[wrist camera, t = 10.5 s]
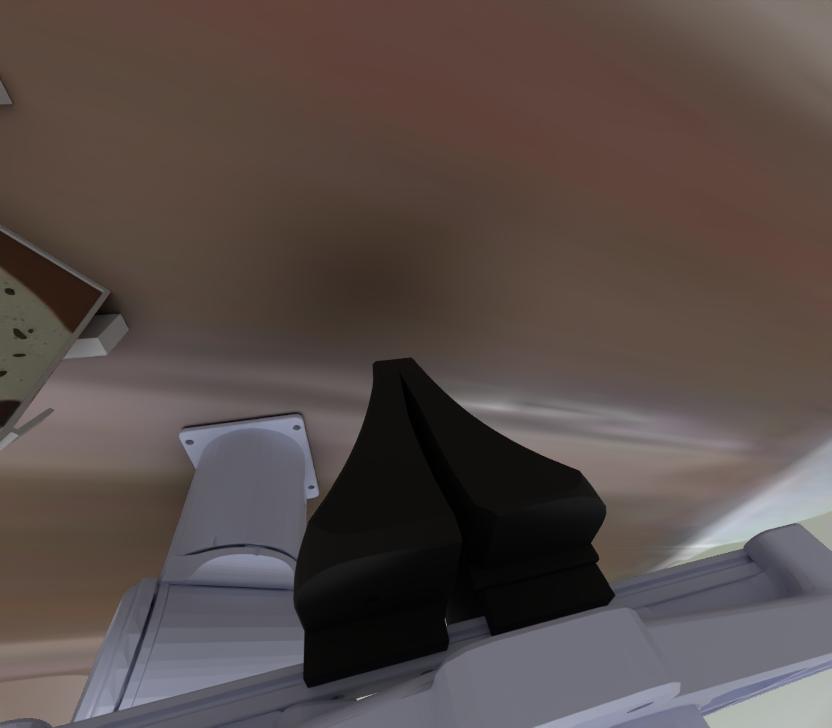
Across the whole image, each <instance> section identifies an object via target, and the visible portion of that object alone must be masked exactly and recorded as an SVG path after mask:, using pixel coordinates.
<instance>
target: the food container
mask: <svg viewBox="0 0 832 728" xmlns="http://www.w3.org/2000/svg"><path fill="white" fill-rule="evenodd" d="M110 293H111V291H109V290H107V289H106V288H104V287H103V286H101V285H99V284H98V283H96V282H94V281H93V280H91V279H89V278H88V277H86V276H85V275H83V274H81V273H80V272H78V271H76V270H75V269H73V268H72V267H70V266H68V265H67V264H65V263H63V262H62V261H60V260H58V259H57V258H55V257H54V256H52V255H50V254H49V253H47V252H45V251H44V250H42V249H40V248H39V247H37V246H36V245H34V244H32V243H31V242H29V241H27V240H26V239H24V238H22V237H21V236H19V235H18V234H16V233H14V232H13V231H11V230H9V229H8V228H6V227H5V226H3V225H1V224H0V450H2V449H4V448H5V447H6V446H8V445H9V444H11V443H12V442H14V441H15V440H16V439H18V438H19V437H21V436H22V435H23V434H25V433H26V432H28V431H29V430H31V429H32V428H33V427H35V426H36V425H38V424H39V423H40V422H41V421H43V420H44V419H45V418H46V417H47V416H48V415H50V414H51V413H52V412H53V411H54V410H53V409H51V408H49V409H47V410H46V411H44V412H43V413H41V414H40V415H38V416H37V417H35V418H34V419H32V420H31V421H29V422H28V423H26V424H25V425H23V426H22V427H20V428H19V429H15V428H13V427H14V426H15V424H16V423H17V421H18V420H19V419H20V417H21V416H22V414H23V413H24V412H25V410H26V409H27V408H28V406H29V405H30V403H31V402H32V401H33V399H34V398H35V397H36V395H37V394H38V392H39V391H40V390H41V388H42V387H43V385H44V384H45V383H46V381H47V380H48V379H49V377H50V376H51V374H52V373H53V372H54V370H55V369H56V367H57V366H58V365H59V363H60V362H61V361H62V359H63V358H64V356H65V355H66V354H67V352H68V351H69V350H70V348H71V347H72V345H73V344H74V343H75V341H76V340H77V338H78V337H79V336H80V334H81V333H82V332H83V330H84V329H85V327H86V326H87V325H88V323H89V322H90V320H91V319H92V318H93V316H94V315H95V314H96V312H97V311H98V309H99V308H100V307H101V305H102V304H103V302H104V301H105V300H106V298H107V297H108V296H109V294H110Z"/></svg>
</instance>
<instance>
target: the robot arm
mask: <svg viewBox="0 0 832 728" xmlns="http://www.w3.org/2000/svg"><path fill="white" fill-rule="evenodd" d="M295 425H299V426H295ZM179 439H180V441H181V443H182V444H183V446H184V448H185V450H186V452H187V454H188V456H189V458H190V460H191V462H192V463H193V465H194V467H195V469H196V472H195V475H194V478H193V480H192V483H191V486H190V489H189V492H188V495H187V498H186V501H185V504H184V507H183V510H182V513H181V516H180V519H179V522H178V525H177V528H176V531H175V534H174V537H173V540H172V543H171V546H170V549H169V552H168V555H167V558H166V561H165V563H164V566H163V569H162V571H161V573H160V575H159V577H158V579H155V578H149V577H145V578H143V579H141V580H140V582H139V583H138V584H136V585H134V586H133V587H131V588H130V589H128V590H127V591H126V592H125V593H124V595H123V597H122V599H121V601H120V603H119V606H118V608H117V610H116V612H115V615H114V617H113V619H112V622H111V624H110V626H109V629H108V631H107V633H106V636H105V638H104V641H103V643H102V645H101V648H100V650H99V653H98V655H97V657H96V660H95V662H94V665H93V667H92V670H91V672H90V674H89V677H88V679H87V682H86V684H85V687H84V689H83V692H82V694H81V697H80V699H79V702H78V704H77V707H76V709H75V712H74V714H73V717H72V720H71V722H70V723H69V724H66V725H61V726H58V727H54V728H710V727H709V726H708V724H707V722H706V721H705V719H704V718H703V716H706V715H709V714H711V713H714V712H716V711H719V710H722V709H724V708H727V707H729V706H732V705H735V704H737V703H740V702H743V701H745V700H748V699H750V698H753V697H756V696H758V695H761V694H764V693H766V692H769V691H771V690H774V689H777V688H779V687H782V686H785V685H787V684H790V683H793V682H795V681H798V680H801V679H803V678H806V677H809V676H812V675H814V674H817V673H820V672H823V671H825V670H828V669H831V668H832V551H831V550H829V549H828V548H827V547H826V546H825V545H824V544H822V543H821V542H820V541H819V540H818V539H817V538H815V537H814V536H813V535H812V534H811V533H810V532H809V531H807V530H806V529H805V528H804V527H803V526H802V525H800V524H796V523H794V524H790V525H786V526H782V527H778V528H774V529H770V530H766V531H764V532H761V533H759V534H757V535H756V536H754V537H753V538H752V539H750V540H749V541H748V542H747V543H746V544H745V545H744V548H743V549H740V550H736V551H732V552H728V553H725V554H721V555H717V556H713V557H709V558H705V559H702V560H698V561H694V562H690V563H686V564H682V565H678V566H674V567H671V568H667V569H663V570H659V571H655V572H651V573H647V574H644V575H640V576H636V577H632V578H628V579H624V580H620V581H617V582H613V583H609V584H608V582H607V580H606V579H605V577H604V575H603V574H602V572H601V571H600V569H599V567H598V566H597V564H596V562H598V560H599V556H598V554H597V552H596V551H595V549H594V548H593V546H592V544H591V542H592V540H593V539H594V537H595V535H596V534H597V532H598V530H599V529H600V527H601V525H602V524H603V521H604V519H605V516H606V506H605V504H604V503H603V501H602V500H601V499H600V497H599V496H598V494H597V493H596V491H595V490H594V488H593V487H592V486H591V484H590V483H589V482H588V481H587V479H586V478H585V477H584V476H583V474H582V473H581V472H580V471H579V470H576V469H574V468H571V467H569V466H566V465H564V464H561V463H559V462H556V461H554V460H551V459H549V458H546V457H544V456H542V455H540V454H538V453H536V452H534V451H532V450H530V449H527V448H525V447H523V446H521V445H520V444H518V443H516V442H514V441H512V440H510V439H508V438H507V437H505V436H503V435H502V434H500V433H498V432H497V431H495V430H493V429H492V428H490V427H488V426H487V425H485V424H484V423H483V422H481V421H480V420H478V419H477V418H475V417H474V416H473V415H471V414H470V413H469V412H467V411H466V410H465V409H464V408H462V407H461V406H460V405H459V404H458V403H456V402H455V401H454V400H453V399H452V398H451V397H450V396H448V395H447V394H446V393H445V392H444V391H443V390H442V389H441V388H440V387H439V386H438V385H437V384H436V383H435V382H434V381H433V380H432V379H431V378H430V377H429V376H428V375H427V374H426V373H425V372H424V371H423V369H422V368H421V367H420V366H419V365H418V364H417V363H416V362H415V360H413V359H412V358H403V359H393V360H384V361H376V362H375V363H374V364H373V387H372V392H371V397H370V402H369V406H368V409H367V413H366V416H365V419H364V422H363V425H362V428H361V431H360V433H359V436H358V438H357V441H356V443H355V445H354V447H353V449H352V451H351V454H350V456H349V458H348V460H347V462H346V464H345V466H344V467H343V469H342V471H341V473H340V474H339V476H338V478H337V479H336V481H335V483H334V485H333V486H332V488H331V490H330V491H329V493H328V494H327V496H326V497H325V499H324V500H323V502H322V503H321V504H320V506H319V507H318V509H317V510H316V512H315V513H314V514H313V516H312V517H311V519H310V520H309V522H308V525H307V528H306V513H307V499H309V498H314V497H317V496H318V495H319V488H318V483H317V479H316V474H315V470H314V465H313V461H312V456H311V452H310V447H309V443H308V438H307V434H306V429H305V425H304V420H303V417H302V416H301V415H298V414H293V415H285V416H277V417H269V418H262V419H254V420H246V421H238V422H231V423H223V424H215V425H207V426H200V427H192V428H185V429H182V430H181V431H180V434H179ZM190 440H193V441H190ZM445 618H446V623H447V626H446V623H445ZM374 693H376V694H374ZM371 694H373V695H371ZM367 695H371V696H368V697H366V698H363V699H360V700H358V701H357V700H356V699H357V698H360V697H364V696H367ZM0 728H52V726H51V725H50V724H49V723H47V722H45V721H43V720H40V719H33V718H24V719H15V720H9V721H5V722H1V723H0Z"/></svg>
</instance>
